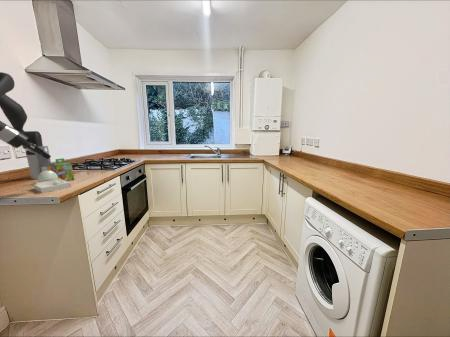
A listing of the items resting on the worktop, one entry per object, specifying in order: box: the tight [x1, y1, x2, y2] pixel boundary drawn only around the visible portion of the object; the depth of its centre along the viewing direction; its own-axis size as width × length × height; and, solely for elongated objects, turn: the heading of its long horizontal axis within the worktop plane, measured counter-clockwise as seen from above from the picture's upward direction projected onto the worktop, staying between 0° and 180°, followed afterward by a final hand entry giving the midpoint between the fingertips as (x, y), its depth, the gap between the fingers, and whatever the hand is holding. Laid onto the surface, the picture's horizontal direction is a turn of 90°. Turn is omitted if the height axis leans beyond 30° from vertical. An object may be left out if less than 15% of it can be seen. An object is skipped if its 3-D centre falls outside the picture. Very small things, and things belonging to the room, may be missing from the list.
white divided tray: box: [33, 170, 72, 194], centre depth 112 cm, size 15×13×10 cm
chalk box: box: [50, 157, 75, 182], centre depth 130 cm, size 9×9×15 cm
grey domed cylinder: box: [36, 145, 52, 168], centre depth 107 cm, size 5×5×11 cm
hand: (47, 157), depth 109 cm, fingers closed on grey domed cylinder, 5 cm apart
